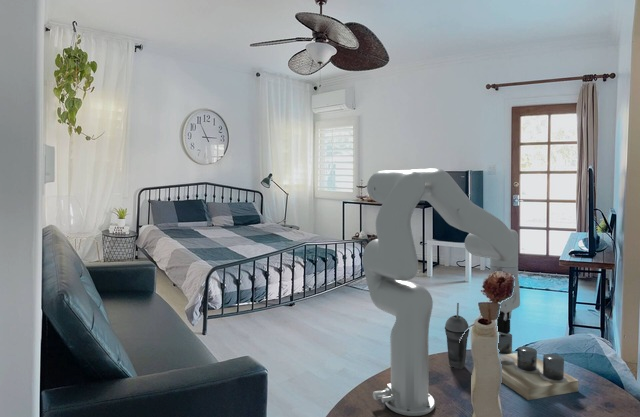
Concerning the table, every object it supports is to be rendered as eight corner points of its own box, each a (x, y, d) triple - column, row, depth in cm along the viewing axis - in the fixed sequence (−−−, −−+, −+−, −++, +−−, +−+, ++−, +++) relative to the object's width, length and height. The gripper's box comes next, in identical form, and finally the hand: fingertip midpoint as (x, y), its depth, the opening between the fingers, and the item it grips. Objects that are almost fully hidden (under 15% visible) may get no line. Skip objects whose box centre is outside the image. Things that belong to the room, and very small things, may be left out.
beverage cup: (466, 360, 137) (466, 298, 135) (471, 371, 130) (472, 305, 128) (442, 360, 138) (442, 298, 136) (446, 370, 130) (447, 305, 129)
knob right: (552, 381, 115) (553, 362, 115) (538, 372, 120) (539, 355, 120) (568, 378, 117) (568, 360, 116) (553, 370, 121) (554, 353, 121)
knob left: (501, 355, 126) (501, 338, 126) (490, 348, 131) (490, 332, 131) (515, 353, 127) (515, 336, 127) (504, 346, 132) (504, 330, 132)
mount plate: (528, 400, 112) (528, 388, 112) (480, 367, 132) (480, 357, 131) (578, 391, 117) (578, 379, 116) (525, 360, 136) (525, 351, 136)
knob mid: (525, 372, 121) (526, 354, 120) (513, 364, 126) (513, 347, 125) (540, 369, 122) (541, 352, 122) (527, 362, 127) (528, 345, 127)
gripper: (503, 277, 120) (503, 342, 121) (528, 269, 129) (527, 329, 131) (478, 273, 125) (478, 335, 127) (504, 265, 135) (503, 322, 137)
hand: (503, 331), depth 129 cm, fingers closed
